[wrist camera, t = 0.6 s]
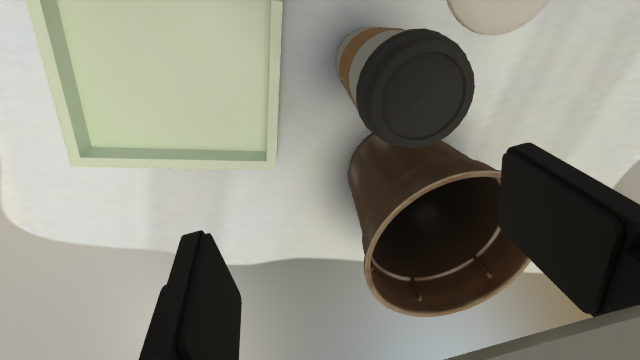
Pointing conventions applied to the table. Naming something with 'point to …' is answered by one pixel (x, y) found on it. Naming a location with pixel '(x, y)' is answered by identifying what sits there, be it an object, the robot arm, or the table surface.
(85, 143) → the tray
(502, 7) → the candlestick
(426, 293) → the plant pot
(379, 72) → the coffee cup
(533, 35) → the table surface
